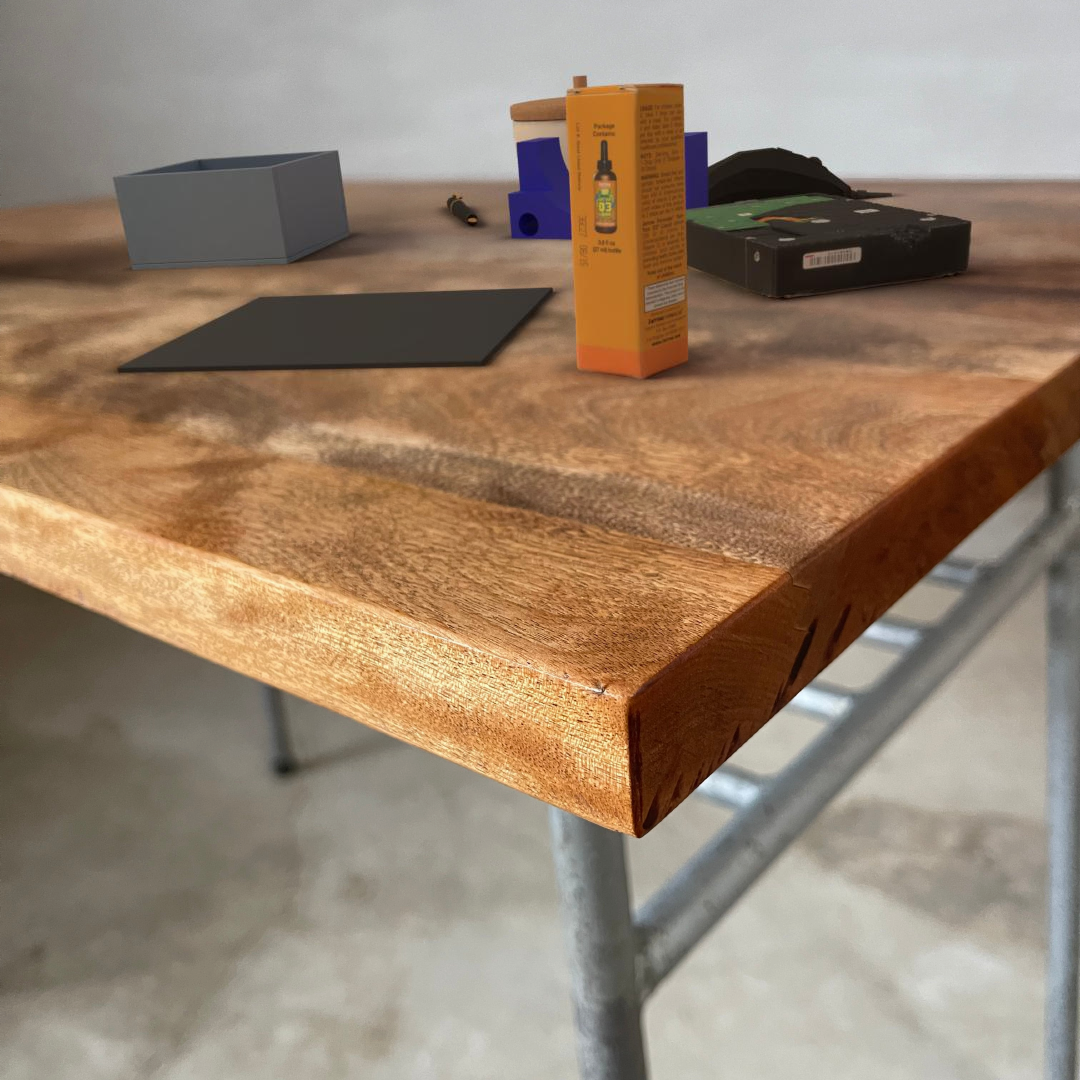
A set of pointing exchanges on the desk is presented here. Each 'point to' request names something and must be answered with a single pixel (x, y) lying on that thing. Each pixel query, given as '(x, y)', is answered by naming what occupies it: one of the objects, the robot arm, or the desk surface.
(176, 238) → the box
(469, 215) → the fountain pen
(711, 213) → the disk drive
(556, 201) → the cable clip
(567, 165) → the trinket box
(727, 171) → the gaming mouse
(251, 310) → the mat
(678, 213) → the supplement box
